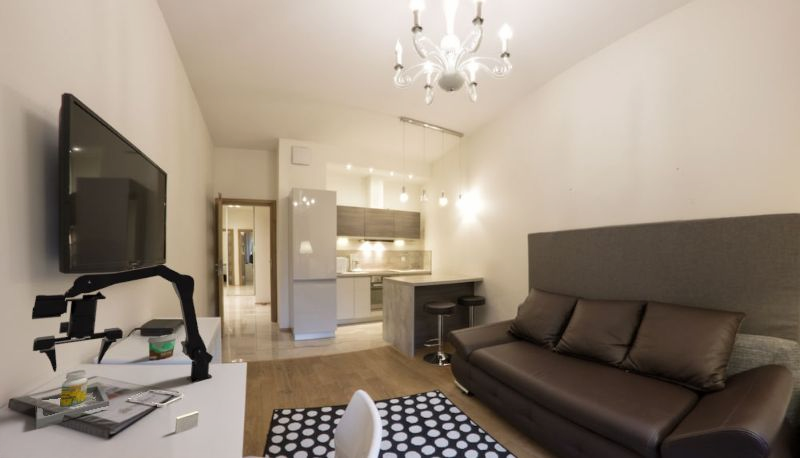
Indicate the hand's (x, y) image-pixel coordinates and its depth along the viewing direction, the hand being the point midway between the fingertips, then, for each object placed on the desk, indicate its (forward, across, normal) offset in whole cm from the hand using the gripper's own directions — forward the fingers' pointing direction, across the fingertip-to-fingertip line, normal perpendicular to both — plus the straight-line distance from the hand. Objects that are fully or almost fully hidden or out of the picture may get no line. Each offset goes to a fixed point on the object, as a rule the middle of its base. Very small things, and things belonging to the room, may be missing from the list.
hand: (77, 367), depth 93 cm
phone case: (+13, -18, +11) cm, 24 cm away
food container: (+12, -31, -36) cm, 49 cm away
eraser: (+12, -19, +38) cm, 44 cm away
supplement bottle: (+11, 0, 0) cm, 11 cm away
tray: (+12, 0, 0) cm, 12 cm away
